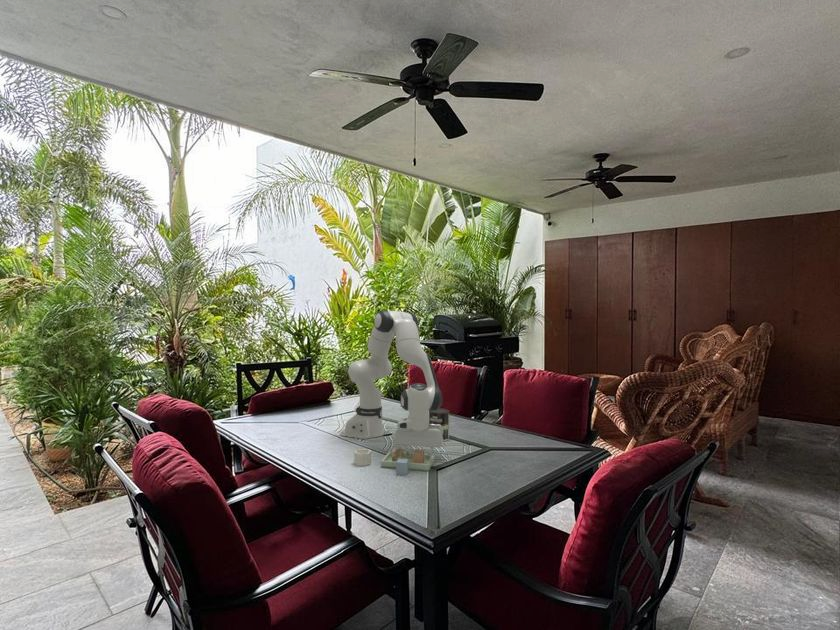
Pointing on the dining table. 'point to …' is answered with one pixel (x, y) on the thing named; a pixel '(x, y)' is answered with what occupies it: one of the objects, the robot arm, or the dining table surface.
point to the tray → (426, 466)
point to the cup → (362, 457)
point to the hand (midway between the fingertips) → (418, 456)
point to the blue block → (402, 467)
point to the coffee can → (440, 420)
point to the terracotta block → (418, 456)
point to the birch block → (397, 454)
